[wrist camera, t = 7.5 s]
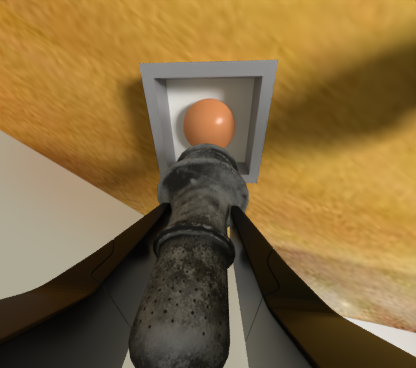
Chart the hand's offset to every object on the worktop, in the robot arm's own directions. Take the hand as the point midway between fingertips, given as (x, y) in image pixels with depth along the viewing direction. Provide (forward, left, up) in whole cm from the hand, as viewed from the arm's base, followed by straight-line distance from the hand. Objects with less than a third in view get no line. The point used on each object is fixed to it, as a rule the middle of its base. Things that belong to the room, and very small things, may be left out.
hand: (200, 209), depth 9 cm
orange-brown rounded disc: (0, -2, -12) cm, 12 cm away
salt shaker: (0, 0, -5) cm, 5 cm away
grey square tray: (0, -2, -13) cm, 13 cm away
